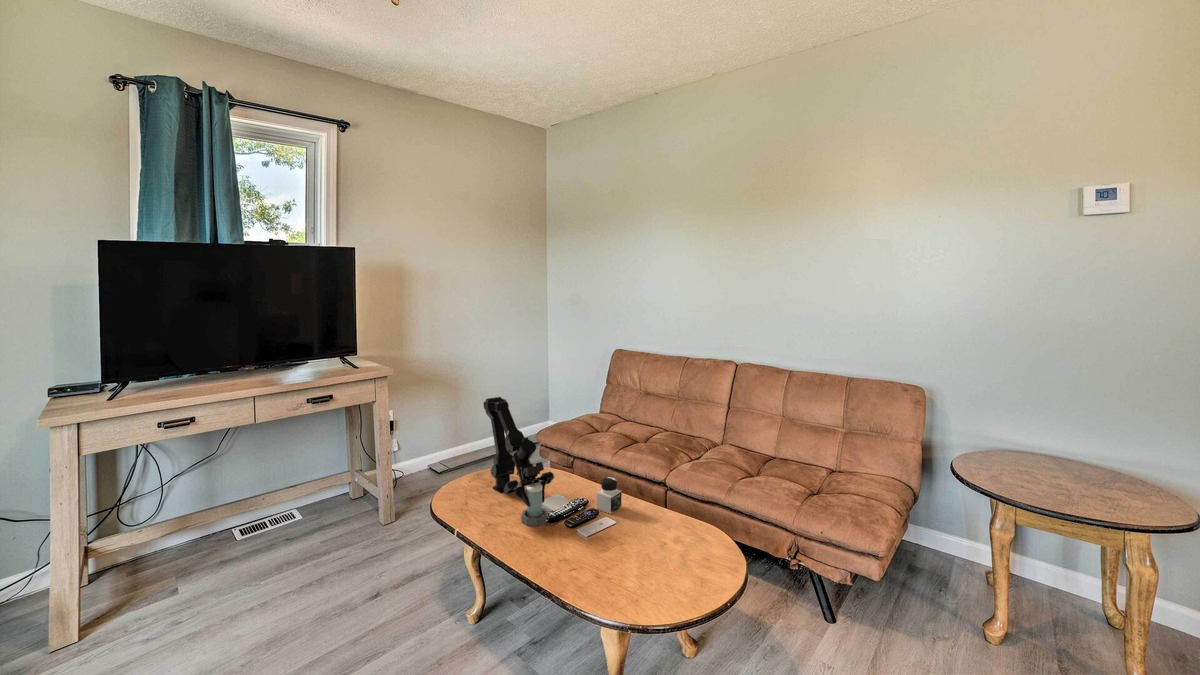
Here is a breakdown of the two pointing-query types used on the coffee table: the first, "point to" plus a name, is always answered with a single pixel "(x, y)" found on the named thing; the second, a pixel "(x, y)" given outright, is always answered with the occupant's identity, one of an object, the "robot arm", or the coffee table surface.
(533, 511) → the jar
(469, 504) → the coffee table surface
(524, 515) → the holder ring
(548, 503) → the tray
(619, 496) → the medicine bottle
